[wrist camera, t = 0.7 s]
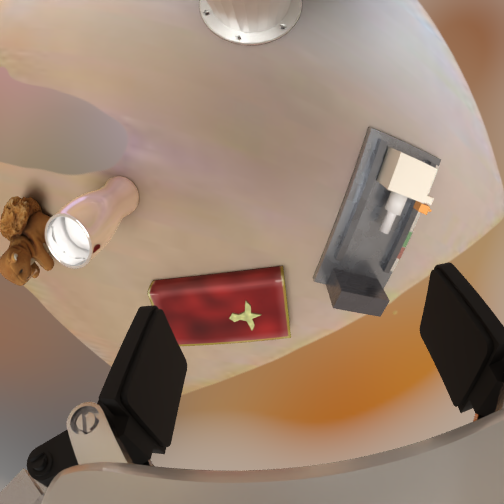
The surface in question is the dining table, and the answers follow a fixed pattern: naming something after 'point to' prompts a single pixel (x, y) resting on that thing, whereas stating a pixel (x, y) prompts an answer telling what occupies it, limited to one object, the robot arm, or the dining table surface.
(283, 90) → the dining table surface
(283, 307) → the hardcover book
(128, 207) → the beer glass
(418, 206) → the indicator
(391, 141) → the gauge bed
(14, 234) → the stuffed squirrel
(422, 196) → the cube with side peg
